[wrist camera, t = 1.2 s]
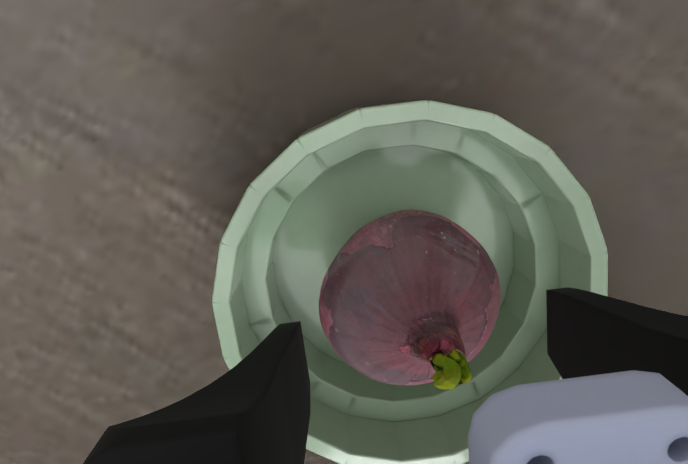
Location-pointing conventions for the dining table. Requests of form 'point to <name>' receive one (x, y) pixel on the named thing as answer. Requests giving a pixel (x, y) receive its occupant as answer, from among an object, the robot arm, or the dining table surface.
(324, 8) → the dining table surface
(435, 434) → the bowl
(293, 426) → the robot arm
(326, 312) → the vegetable
